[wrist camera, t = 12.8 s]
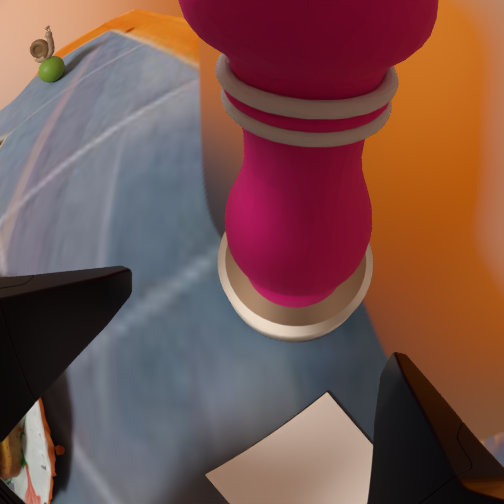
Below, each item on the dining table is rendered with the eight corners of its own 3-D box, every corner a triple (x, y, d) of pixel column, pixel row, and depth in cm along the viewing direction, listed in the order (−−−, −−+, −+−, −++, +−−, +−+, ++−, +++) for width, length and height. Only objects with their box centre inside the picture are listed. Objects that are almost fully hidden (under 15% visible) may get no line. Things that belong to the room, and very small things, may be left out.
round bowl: (247, 361, 20) (242, 356, 17) (211, 235, 24) (202, 214, 21) (382, 312, 20) (397, 300, 17) (330, 199, 24) (335, 176, 22)
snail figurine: (66, 80, 41) (40, 32, 30) (41, 91, 41) (15, 47, 30) (76, 66, 43) (54, 20, 32) (52, 76, 44) (29, 33, 33)
